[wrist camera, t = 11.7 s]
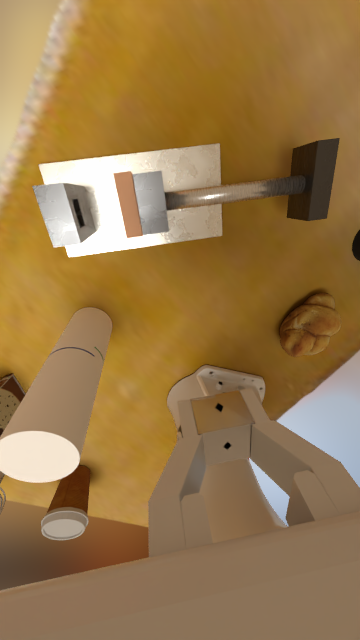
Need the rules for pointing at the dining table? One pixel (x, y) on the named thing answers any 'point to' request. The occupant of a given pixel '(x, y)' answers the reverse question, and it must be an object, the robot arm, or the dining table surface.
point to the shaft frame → (150, 184)
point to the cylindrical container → (58, 404)
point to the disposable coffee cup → (68, 507)
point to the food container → (9, 399)
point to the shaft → (277, 185)
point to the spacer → (128, 204)
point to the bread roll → (310, 326)
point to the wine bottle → (356, 246)
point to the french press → (0, 476)
